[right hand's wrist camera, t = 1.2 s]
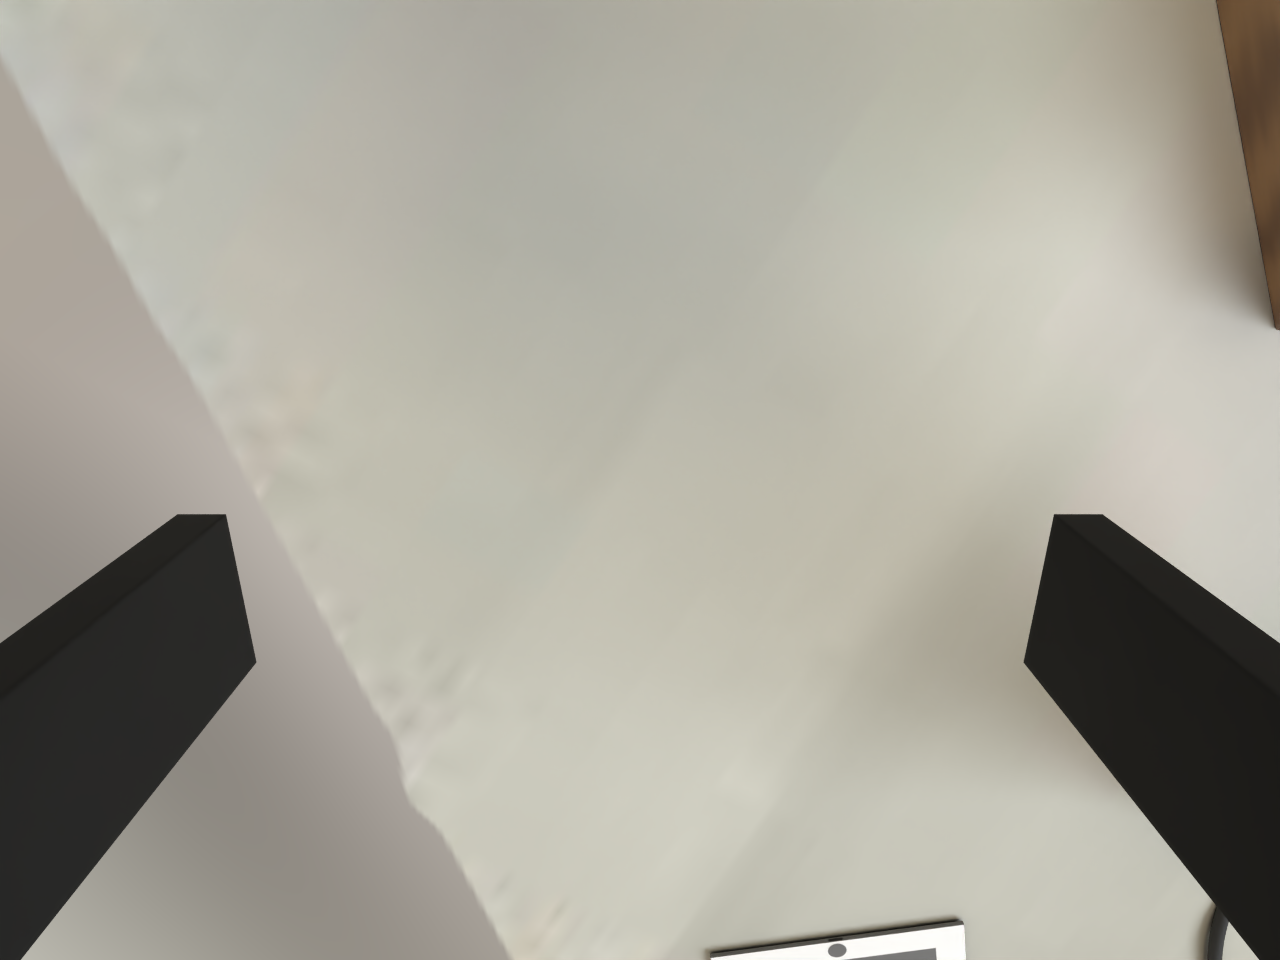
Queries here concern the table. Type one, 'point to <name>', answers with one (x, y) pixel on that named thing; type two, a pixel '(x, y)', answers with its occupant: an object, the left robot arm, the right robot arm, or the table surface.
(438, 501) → the table surface
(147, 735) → the right robot arm
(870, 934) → the tablet
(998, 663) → the table surface
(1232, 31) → the bar
